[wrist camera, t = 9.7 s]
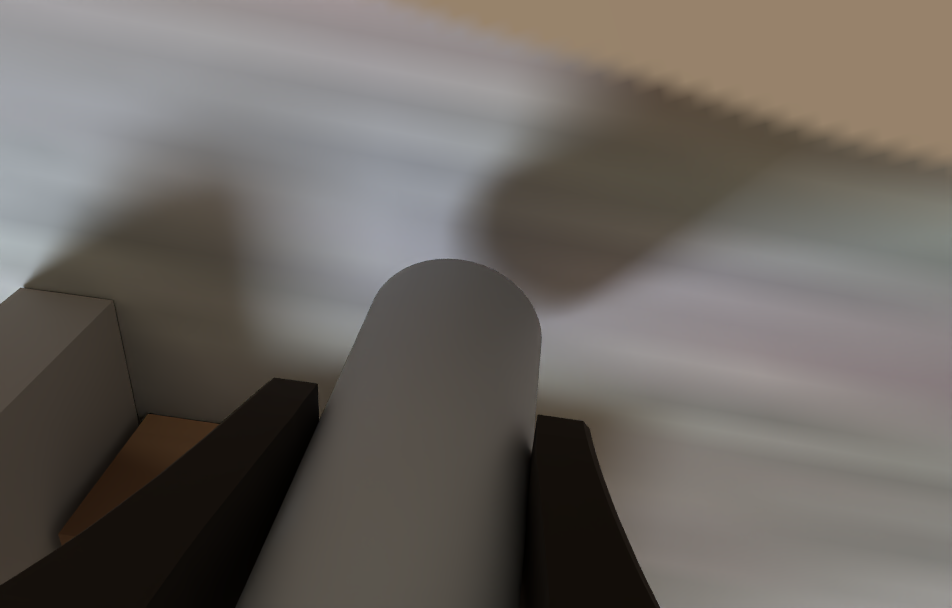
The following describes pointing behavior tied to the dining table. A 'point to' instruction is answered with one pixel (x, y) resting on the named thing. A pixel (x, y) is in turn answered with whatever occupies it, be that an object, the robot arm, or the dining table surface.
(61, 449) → the block
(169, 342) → the dining table surface
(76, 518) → the socket block
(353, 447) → the dowel
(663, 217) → the dining table surface
